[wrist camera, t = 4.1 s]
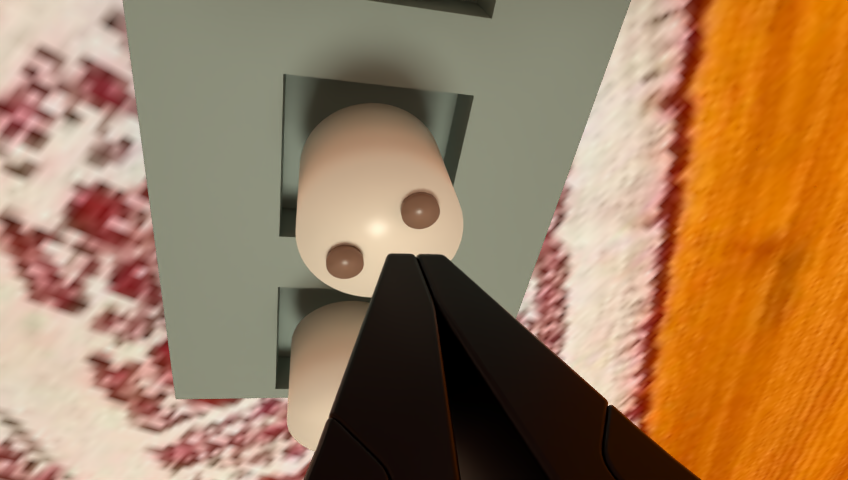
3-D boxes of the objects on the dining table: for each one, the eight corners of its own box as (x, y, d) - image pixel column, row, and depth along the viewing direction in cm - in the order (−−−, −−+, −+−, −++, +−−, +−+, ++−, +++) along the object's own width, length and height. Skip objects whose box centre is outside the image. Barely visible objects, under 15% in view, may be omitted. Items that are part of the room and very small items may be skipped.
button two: (296, 223, 16) (292, 300, 14) (302, 95, 14) (298, 156, 11) (427, 231, 17) (447, 304, 14) (452, 111, 15) (482, 171, 12)
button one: (289, 379, 20) (284, 463, 18) (293, 299, 18) (288, 380, 15) (396, 379, 21) (407, 458, 18) (412, 302, 19) (427, 379, 16)
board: (186, 357, 22) (175, 398, 20) (106, -377, 10) (67, -416, 9) (477, 358, 24) (488, 394, 23) (666, -225, 13) (715, -234, 11)
